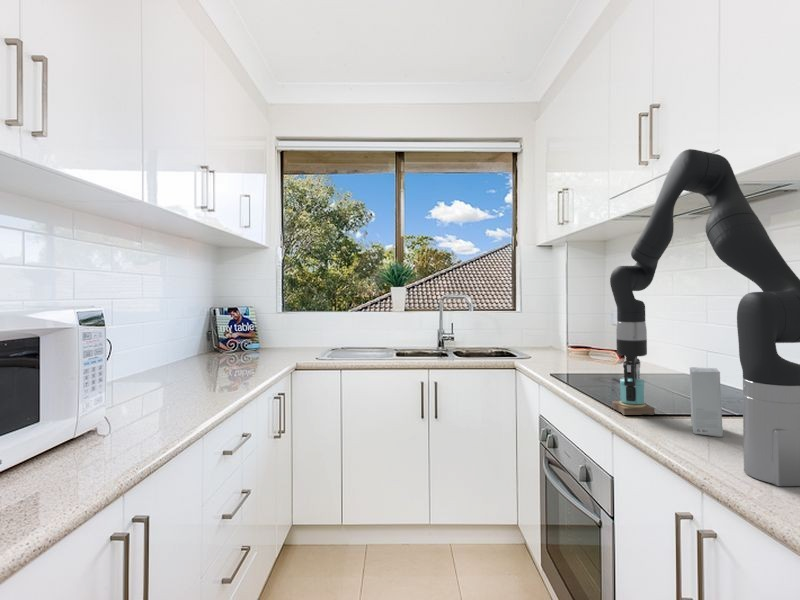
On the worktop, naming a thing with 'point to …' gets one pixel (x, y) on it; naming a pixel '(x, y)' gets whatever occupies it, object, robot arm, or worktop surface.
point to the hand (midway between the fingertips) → (632, 398)
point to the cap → (639, 391)
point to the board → (632, 408)
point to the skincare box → (706, 401)
